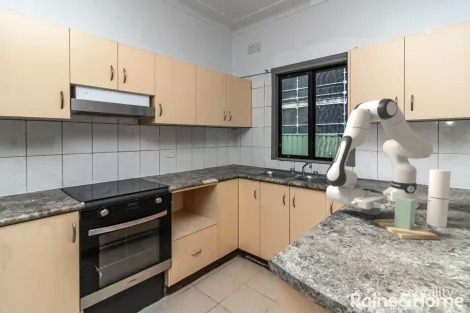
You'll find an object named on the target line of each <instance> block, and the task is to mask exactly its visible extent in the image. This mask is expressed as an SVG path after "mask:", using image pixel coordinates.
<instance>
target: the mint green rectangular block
mask: <svg viewBox="0 0 470 313" xmlns="http://www.w3.org/2000/svg"><path fill="white" fill-rule="evenodd" d="M415 207H416V199H411V198H405V197H399V198H396V202H395V207H394V219H393V220H394V226H395V227H399V228H403V229H407V230H410V229H412V228H414V224H415V222H416V221H415V219H416V218H415V217H416V209H415Z"/></svg>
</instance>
